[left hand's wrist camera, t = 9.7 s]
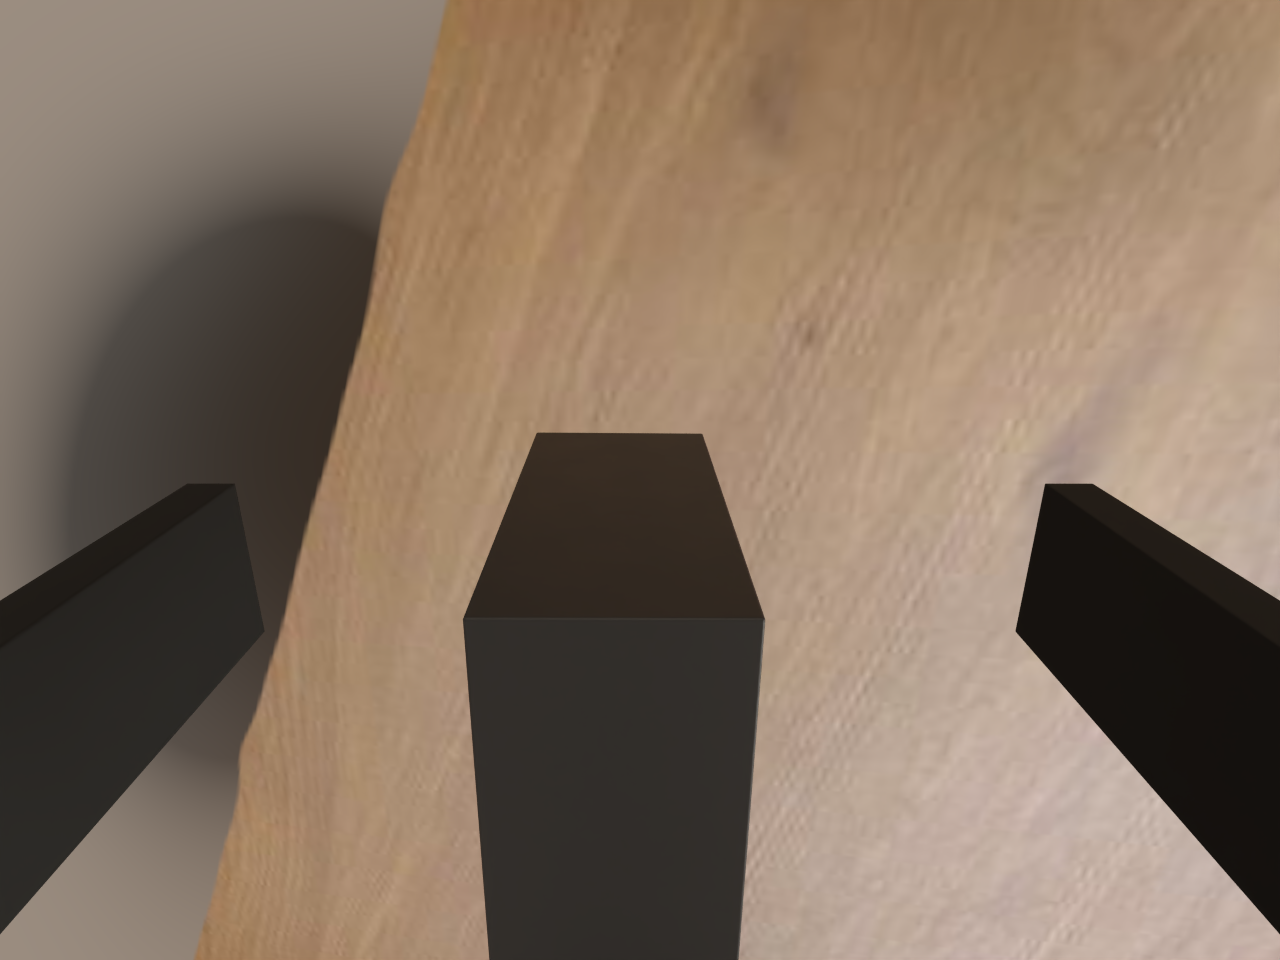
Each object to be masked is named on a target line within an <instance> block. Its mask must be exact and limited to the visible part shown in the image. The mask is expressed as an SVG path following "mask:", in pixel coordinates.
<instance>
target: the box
mask: <svg viewBox="0 0 1280 960" xmlns="http://www.w3.org/2000/svg"><path fill="white" fill-rule="evenodd" d="M463 626H464V639H465V651H466V664H467V677H468V690H469V703H470V716H471V729H472V741H473V754H474V767H475V780H476V793H477V806H478V819H479V831H480V844H481V857H482V870H483V883H484V896H485V909H486V921H487V934H488V947H489V960H738V959H739V946H740V933H741V921H742V908H743V895H744V882H745V870H746V857H747V844H748V832H749V819H750V806H751V794H752V781H753V768H754V755H755V743H756V730H757V717H758V705H759V692H760V679H761V667H762V654H763V641H764V628H765V618H764V615H763V612H762V609H761V606H760V603H759V600H758V597H757V594H756V591H755V588H754V585H753V582H752V579H751V576H750V573H749V571H748V568H747V565H746V562H745V559H744V556H743V553H742V550H741V547H740V544H739V541H738V538H737V535H736V532H735V529H734V526H733V523H732V520H731V517H730V514H729V511H728V508H727V505H726V503H725V500H724V497H723V494H722V491H721V488H720V485H719V482H718V479H717V476H716V473H715V470H714V467H713V464H712V461H711V458H710V455H709V452H708V449H707V446H706V443H705V440H704V437H703V435H702V434H657V433H537V434H536V436H535V439H534V441H533V444H532V447H531V449H530V452H529V454H528V457H527V459H526V462H525V464H524V467H523V469H522V472H521V474H520V477H519V479H518V482H517V484H516V487H515V489H514V492H513V494H512V497H511V500H510V502H509V505H508V507H507V510H506V512H505V515H504V517H503V520H502V522H501V525H500V527H499V530H498V532H497V535H496V537H495V540H494V542H493V545H492V547H491V550H490V553H489V555H488V558H487V560H486V563H485V565H484V568H483V570H482V573H481V575H480V578H479V580H478V583H477V585H476V588H475V590H474V593H473V595H472V598H471V600H470V603H469V606H468V608H467V611H466V613H465V616H464V618H463Z"/></svg>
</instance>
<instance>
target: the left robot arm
mask: <svg viewBox="0 0 1280 960" xmlns="http://www.w3.org/2000/svg"><path fill="white" fill-rule="evenodd" d="M263 632H264V627H263V622H262V617H261V612H260V607H259V602H258V597H257V592H256V587H255V582H254V577H253V572H252V567H251V562H250V557H249V552H248V547H247V542H246V537H245V532H244V527H243V522H242V517H241V512H240V507H239V502H238V497H237V493H236V488H235V484H186V485H185V486H183V487H182V488H180V489H178V490H177V491H175V492H173V493H172V494H170V495H169V496H167V497H165V498H164V499H162V500H161V501H159V502H157V503H156V504H154V505H153V506H151V507H150V508H148V509H146V510H145V511H143V512H141V513H140V514H138V515H137V516H135V517H133V518H132V519H130V520H129V521H127V522H125V523H124V524H122V525H121V526H119V527H118V528H116V529H114V530H113V531H111V532H109V533H108V534H106V535H105V536H103V537H101V538H100V539H98V540H97V541H95V542H93V543H92V544H90V545H89V546H87V547H85V548H84V549H82V550H81V551H79V552H77V553H76V554H74V555H73V556H71V557H69V558H68V559H66V560H65V561H63V562H61V563H60V564H58V565H57V566H55V567H53V568H52V569H50V570H49V571H47V572H45V573H44V574H42V575H41V576H39V577H37V578H36V579H34V580H33V581H31V582H29V583H28V584H26V585H25V586H23V587H21V588H20V589H18V590H17V591H15V592H13V593H12V594H10V595H9V596H7V597H5V598H4V599H2V600H1V601H0V934H1V933H2V931H3V930H4V929H5V928H6V927H7V926H8V925H9V923H10V922H11V921H12V920H13V919H14V918H15V916H16V915H17V914H18V913H19V912H20V911H21V910H22V909H23V907H24V906H25V905H26V904H27V903H28V902H29V900H30V899H31V898H32V897H33V896H34V895H35V894H36V892H37V891H38V890H39V889H40V888H41V887H42V886H43V884H44V883H45V882H46V881H47V880H48V879H49V878H50V876H51V875H52V874H53V873H54V872H55V871H56V870H57V868H58V867H59V866H60V865H61V864H62V863H63V862H64V860H65V859H66V858H67V857H68V856H69V855H70V854H71V852H72V851H73V850H74V849H75V848H76V847H77V846H78V844H79V843H80V842H81V841H82V840H83V839H84V838H85V836H86V835H87V834H88V833H89V832H90V831H91V829H92V828H93V827H94V826H95V825H96V824H97V823H98V821H99V820H100V819H101V818H102V817H103V816H104V815H105V813H106V812H107V811H108V810H109V809H110V808H111V807H112V805H113V804H114V803H115V802H116V801H117V800H118V799H119V797H120V796H121V795H122V794H123V793H124V792H125V791H126V789H127V788H128V787H129V786H130V785H131V784H132V783H133V781H134V780H135V779H136V778H137V777H138V776H139V774H140V773H141V772H142V771H143V770H144V769H145V768H146V766H147V765H148V764H149V763H150V762H151V761H152V760H153V758H154V757H155V756H156V755H157V754H158V753H159V752H160V750H161V749H162V748H163V747H164V746H165V745H166V744H167V742H168V741H169V740H170V739H171V738H172V737H173V736H174V734H175V733H176V732H177V731H178V730H179V729H180V727H181V726H182V725H183V724H184V723H185V722H186V721H187V719H188V718H189V717H190V716H191V715H192V714H193V713H194V712H195V710H196V709H197V708H198V707H199V706H200V705H201V703H202V702H203V701H204V700H205V699H206V698H207V697H208V695H209V694H210V693H211V692H212V691H213V690H214V689H215V687H216V686H217V685H218V684H219V683H220V682H221V681H222V679H223V678H224V677H225V676H226V675H227V674H228V673H229V671H230V670H231V669H232V668H233V667H234V666H235V665H236V663H237V662H238V661H239V660H240V659H241V658H242V656H243V655H244V654H245V653H246V652H247V651H248V650H249V649H250V647H251V646H252V645H253V644H254V643H255V642H256V640H257V639H258V638H259V637H260V636H261V635H262V634H263ZM1016 632H1017V634H1018V635H1019V636H1020V637H1021V638H1022V639H1023V641H1024V642H1025V643H1026V644H1027V645H1028V646H1029V647H1030V649H1031V650H1032V651H1033V652H1034V653H1035V654H1036V655H1037V657H1038V658H1039V659H1040V660H1041V661H1042V662H1043V663H1044V665H1045V666H1046V667H1047V668H1048V669H1049V670H1050V671H1051V673H1052V674H1053V675H1054V676H1055V677H1056V678H1057V679H1058V681H1059V682H1060V683H1061V684H1062V685H1063V686H1064V687H1065V689H1066V690H1067V691H1068V692H1069V693H1070V694H1071V695H1072V697H1073V698H1074V699H1075V700H1076V701H1077V702H1078V703H1079V705H1080V706H1081V707H1082V708H1083V709H1084V710H1085V712H1086V713H1087V714H1088V715H1089V716H1090V717H1091V718H1092V720H1093V721H1094V722H1095V723H1096V724H1097V725H1098V726H1099V728H1100V729H1101V730H1102V731H1103V732H1104V733H1105V734H1106V736H1107V737H1108V738H1109V739H1110V740H1111V741H1112V742H1113V744H1114V745H1115V746H1116V747H1117V748H1118V749H1119V750H1120V752H1121V753H1122V754H1123V755H1124V756H1125V757H1126V758H1127V760H1128V761H1129V762H1130V763H1131V764H1132V765H1133V766H1134V768H1135V769H1136V770H1137V771H1138V772H1139V773H1140V775H1141V776H1142V777H1143V778H1144V779H1145V780H1146V781H1147V783H1148V784H1149V785H1150V786H1151V787H1152V788H1153V789H1154V791H1155V792H1156V793H1157V794H1158V795H1159V796H1160V797H1161V799H1162V800H1163V801H1164V802H1165V803H1166V804H1167V805H1168V807H1169V808H1170V809H1171V810H1172V811H1173V812H1174V813H1175V815H1176V816H1177V817H1178V818H1179V819H1180V820H1181V821H1182V823H1183V824H1184V825H1185V826H1186V827H1187V828H1188V829H1189V831H1190V832H1191V833H1192V834H1193V835H1194V836H1195V838H1196V839H1197V840H1198V841H1199V842H1200V843H1201V844H1202V846H1203V847H1204V848H1205V849H1206V850H1207V851H1208V852H1209V854H1210V855H1211V856H1212V857H1213V858H1214V859H1215V860H1216V862H1217V863H1218V864H1219V865H1220V866H1221V867H1222V868H1223V870H1224V871H1225V872H1226V873H1227V874H1228V875H1229V876H1230V878H1231V879H1232V880H1233V881H1234V882H1235V883H1236V884H1237V886H1238V887H1239V888H1240V889H1241V890H1242V891H1243V892H1244V894H1245V895H1246V896H1247V897H1248V898H1249V899H1250V901H1251V902H1252V903H1253V904H1254V905H1255V906H1256V907H1257V909H1258V910H1259V911H1260V912H1261V913H1262V914H1263V915H1264V917H1265V918H1266V919H1267V920H1268V921H1269V922H1270V923H1271V925H1272V926H1273V927H1274V928H1275V929H1276V930H1277V931H1278V933H1279V934H1280V601H1279V600H1278V599H1276V598H1275V597H1273V596H1271V595H1270V594H1268V593H1267V592H1265V591H1263V590H1262V589H1260V588H1259V587H1257V586H1255V585H1254V584H1252V583H1251V582H1249V581H1247V580H1246V579H1244V578H1243V577H1241V576H1239V575H1238V574H1236V573H1235V572H1233V571H1231V570H1230V569H1228V568H1227V567H1225V566H1223V565H1222V564H1220V563H1219V562H1217V561H1215V560H1214V559H1212V558H1211V557H1209V556H1207V555H1206V554H1204V553H1203V552H1201V551H1199V550H1198V549H1196V548H1195V547H1193V546H1191V545H1190V544H1188V543H1187V542H1185V541H1183V540H1182V539H1180V538H1179V537H1177V536H1175V535H1174V534H1172V533H1171V532H1169V531H1167V530H1166V529H1164V528H1163V527H1161V526H1159V525H1158V524H1156V523H1155V522H1153V521H1151V520H1150V519H1148V518H1147V517H1145V516H1143V515H1142V514H1140V513H1139V512H1137V511H1135V510H1134V509H1132V508H1131V507H1129V506H1127V505H1126V504H1124V503H1123V502H1121V501H1119V500H1118V499H1116V498H1115V497H1113V496H1111V495H1110V494H1108V493H1107V492H1105V491H1103V490H1102V489H1100V488H1098V487H1097V486H1095V485H1094V484H1045V488H1044V492H1043V497H1042V502H1041V507H1040V512H1039V517H1038V522H1037V527H1036V532H1035V537H1034V542H1033V547H1032V552H1031V557H1030V562H1029V567H1028V572H1027V577H1026V582H1025V587H1024V592H1023V597H1022V602H1021V607H1020V612H1019V617H1018V622H1017V627H1016Z"/></svg>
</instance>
